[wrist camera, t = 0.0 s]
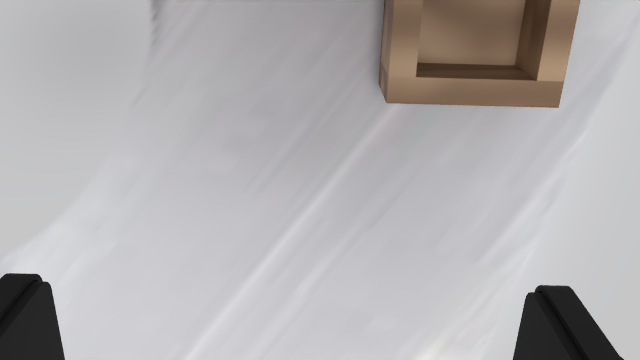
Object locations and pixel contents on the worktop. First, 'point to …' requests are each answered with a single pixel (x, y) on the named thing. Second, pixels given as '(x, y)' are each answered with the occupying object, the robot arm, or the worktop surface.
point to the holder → (476, 51)
